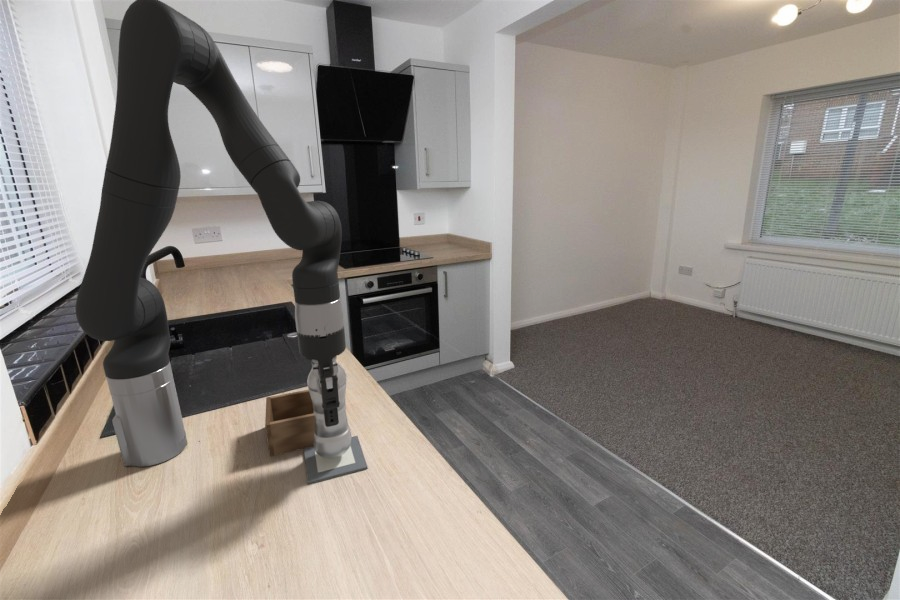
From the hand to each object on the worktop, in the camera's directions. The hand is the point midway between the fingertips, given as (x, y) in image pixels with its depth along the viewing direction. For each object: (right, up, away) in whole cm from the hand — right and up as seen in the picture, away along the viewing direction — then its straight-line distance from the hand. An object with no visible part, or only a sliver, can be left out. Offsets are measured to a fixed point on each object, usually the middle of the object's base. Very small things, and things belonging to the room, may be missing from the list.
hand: (329, 415), depth 72 cm
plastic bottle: (0, -7, +2) cm, 8 cm away
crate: (-9, -7, +10) cm, 15 cm away
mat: (0, -9, +2) cm, 9 cm away
